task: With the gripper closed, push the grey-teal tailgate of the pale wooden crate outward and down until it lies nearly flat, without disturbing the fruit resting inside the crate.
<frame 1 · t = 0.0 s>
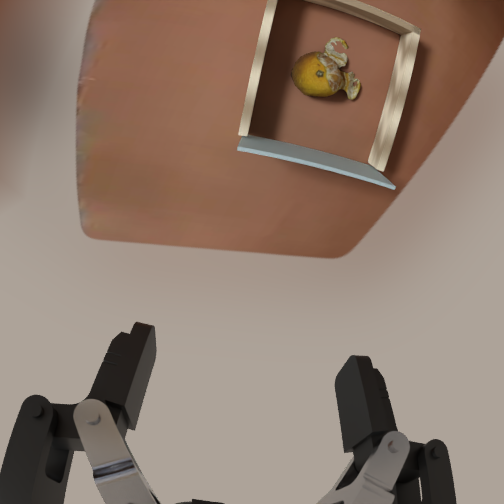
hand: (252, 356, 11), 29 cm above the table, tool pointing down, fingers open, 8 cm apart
fruit: (330, 74, 30), on the table
tailgate: (316, 157, 31), point 4 cm above the table, hinge at 0.0°
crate: (327, 83, 30), on the table
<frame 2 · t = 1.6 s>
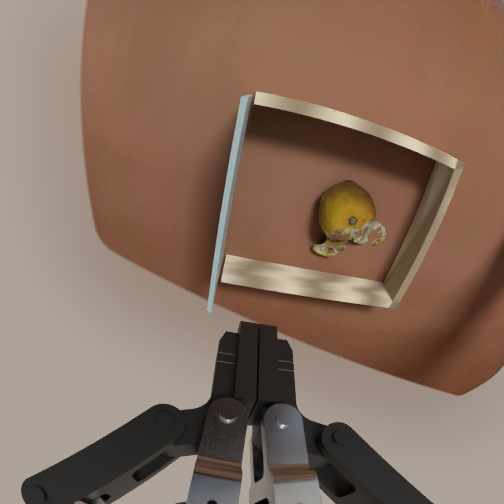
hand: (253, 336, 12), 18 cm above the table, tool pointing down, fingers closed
fruit: (342, 223, 29), on the table
tailgate: (228, 201, 23), point 4 cm above the table, hinge at 0.0°
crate: (324, 202, 28), on the table
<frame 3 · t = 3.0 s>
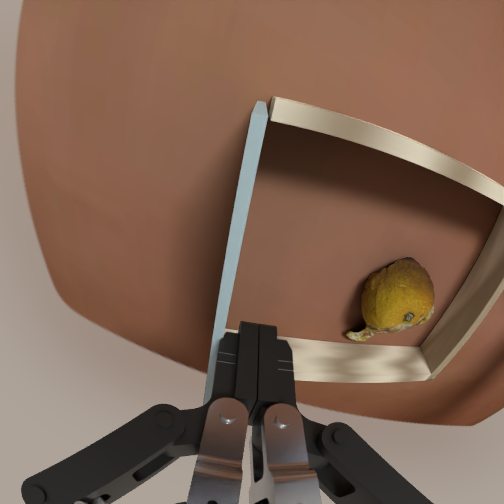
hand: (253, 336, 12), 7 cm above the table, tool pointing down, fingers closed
fruit: (386, 302, 21), on the table
tailgate: (226, 285, 14), point 4 cm above the table, hinge at 0.4°, touching gripper
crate: (364, 264, 19), on the table
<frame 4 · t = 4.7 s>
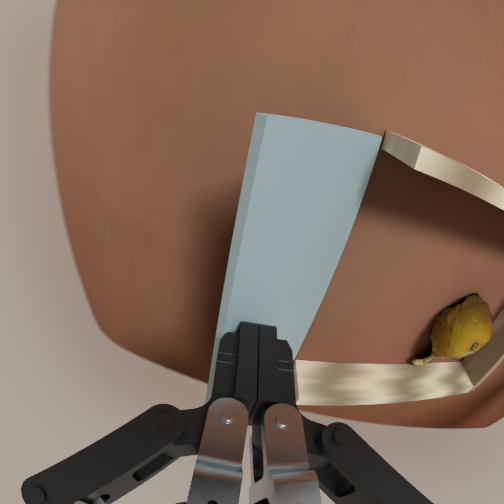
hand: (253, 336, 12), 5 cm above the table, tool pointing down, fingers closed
fruit: (446, 331, 20), on the table
tailgate: (283, 306, 14), point 3 cm above the table, hinge at 45.8°, touching gripper
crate: (436, 294, 17), on the table
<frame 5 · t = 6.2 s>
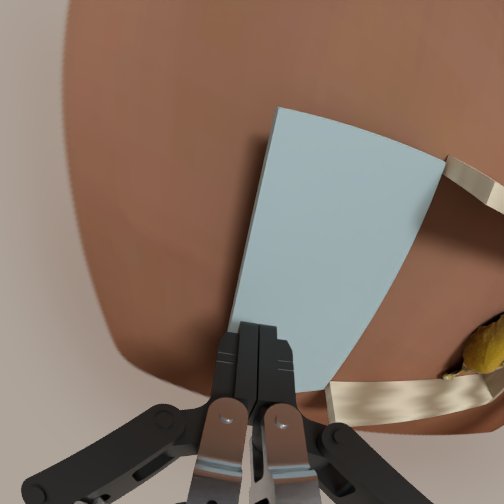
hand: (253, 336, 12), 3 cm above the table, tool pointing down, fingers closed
fruit: (475, 346, 19), on the table, touching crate
tailgate: (313, 306, 14), point 1 cm above the table, hinge at 79.8°
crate: (470, 314, 16), on the table
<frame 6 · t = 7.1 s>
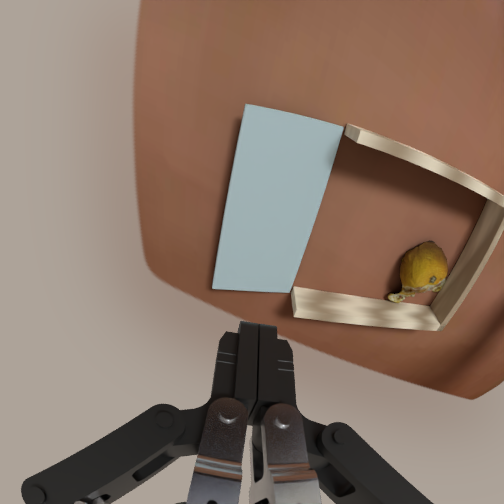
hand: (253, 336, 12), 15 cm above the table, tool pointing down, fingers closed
fruit: (413, 274, 30), on the table
tailgate: (271, 213, 25), point 1 cm above the table, hinge at 80.0°
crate: (394, 237, 26), on the table
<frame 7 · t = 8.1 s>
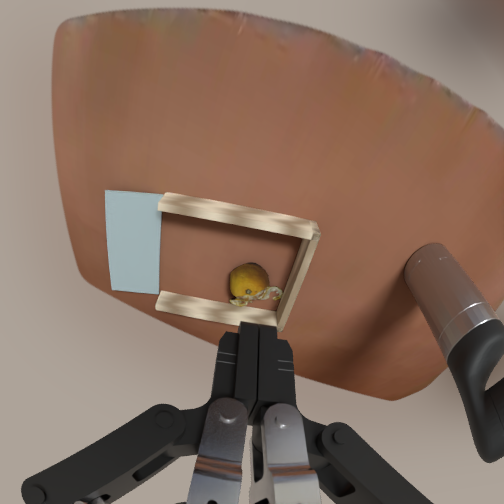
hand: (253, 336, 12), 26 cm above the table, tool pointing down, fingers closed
fruit: (250, 285, 45), on the table
tailgate: (133, 247, 40), point 1 cm above the table, hinge at 80.0°
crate: (219, 260, 42), on the table
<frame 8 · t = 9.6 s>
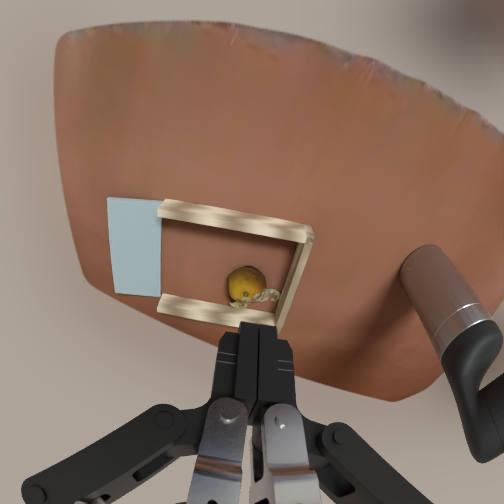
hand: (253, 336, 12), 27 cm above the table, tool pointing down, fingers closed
fruit: (248, 288, 46), on the table
tailgate: (135, 251, 41), point 1 cm above the table, hinge at 80.0°
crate: (218, 264, 43), on the table
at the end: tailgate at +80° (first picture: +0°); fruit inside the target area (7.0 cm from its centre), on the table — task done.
